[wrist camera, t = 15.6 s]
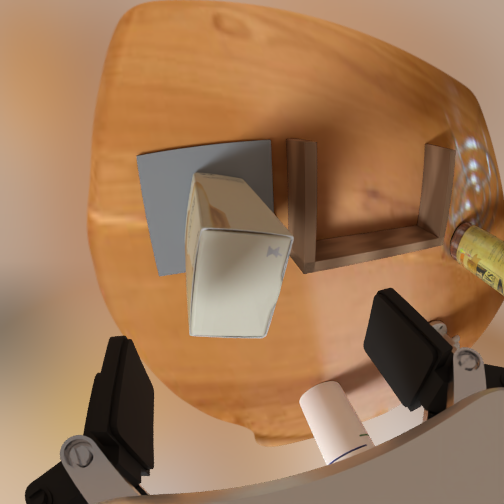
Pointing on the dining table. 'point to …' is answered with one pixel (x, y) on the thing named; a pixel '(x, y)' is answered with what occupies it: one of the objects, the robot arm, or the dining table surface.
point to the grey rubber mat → (179, 183)
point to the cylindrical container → (334, 422)
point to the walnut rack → (367, 244)
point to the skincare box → (232, 258)
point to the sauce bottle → (480, 254)
